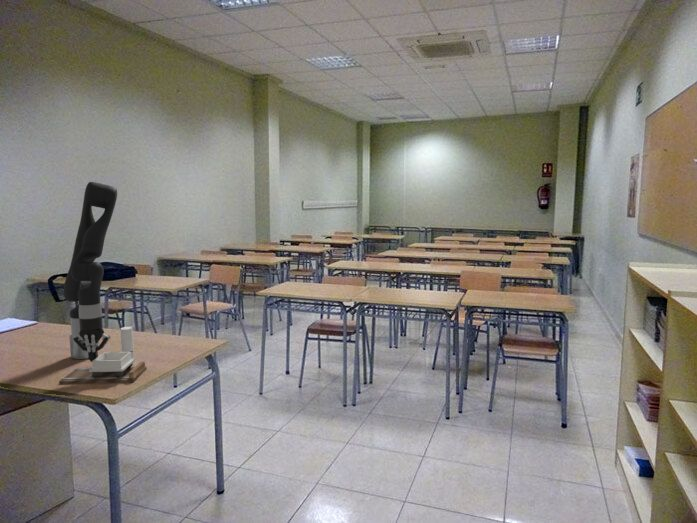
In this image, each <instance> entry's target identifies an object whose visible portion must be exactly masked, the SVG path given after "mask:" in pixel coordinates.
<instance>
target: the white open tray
mask: <svg viewBox="0 0 697 523" xmlns="http://www.w3.org/2000/svg"><path fill="white" fill-rule="evenodd" d="M135 361H136V358H134V359H132V357H131V352H122V351H110V352H109V351H108V352H107V351H104V352H102V353H101V354H99V355H98V357H97V358H95V359H94V360H93V361H92V362H91V366H92V367H90V368H91V369H89V372H93V373H92V376H93V377H94V378H97V377H99V376H100V372H115V371H116V372H115V376H116V377H121V376H122V374H123V372H122V371H124V370H125V369H126V368H130V367H133V366H134V365H133V362H134V363H135Z"/></svg>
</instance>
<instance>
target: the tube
mask: <svg viewBox="0 0 697 523" xmlns="http://www.w3.org/2000/svg"><path fill="white" fill-rule="evenodd" d="M133 330H134V329H133V326H124V327H123V326H122V327H121V328H120V338H121V339H120V342H121V343H120V344H121V352H131V357H132V359H135V355H134V354H135V353H134V352H135V351H134V334H133ZM134 365H135V361H134V362H133V365H132V366H134Z"/></svg>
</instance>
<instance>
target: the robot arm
mask: <svg viewBox="0 0 697 523" xmlns="http://www.w3.org/2000/svg"><path fill="white" fill-rule="evenodd" d="M117 199H118V189H117V187H115V186H111V185H108V184H103V183H99V182H97V181H89V182H87V185H86V187H85V190H84V195H83V200H82V201H83V202H82V207H81V208H82V209H81V215H80V216H81V217H80V222H79V225H78V230H77V233H76V238H75V242H74V248H73V253H72V258H71V261H70V265H69V270H68V271H67V275H66V277H65V281H64V284H63V297H64V298H65V300H66V301H68V302H70V303H72V302H74V303H75V302H78V305H76V306H75V307H73V308H72V309H71V310H70V311H69V317H70V318H69V320H70V330H71V334H70V335H69V350H70V358H71V359H76V360H85V359H88V361H89V362H90V363H92V361H93V360H94V359H95V358H97V357H98V356H99V352H98V351H101V350H102V349H104V347H105V345H107V343H108V341H109V340H110V339H111V335H107V334H106V333H105V331H104V328H103V327H104V324H103V311H102V304H101V288H102V287H101V286H102V283H103V277H104V275H105V274H104V273H105V269H104V266H103V265H102V263H101V262H99V261H96V259H99V258H100V257H101V256H102V255H103V249H104V245H105V239H106V235H107V231H108V229H109V226H110V223H111V220H112V217H113V213H114V210H115V207H116V203H117ZM92 207H96V208H100V209H104V211H103V212H102V215H101V216H100V217H99V218H98V219H97V220H96V221H95V218H94V214H93V208H92ZM100 340H102V341H101V342H100Z"/></svg>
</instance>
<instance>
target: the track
mask: <svg viewBox="0 0 697 523" xmlns="http://www.w3.org/2000/svg"><path fill="white" fill-rule="evenodd" d="M91 368H92V367H77V368H75V369H74V370H73V371H71V372H70V373H68V374H67V375H66V376H64V377H63V378H62V377H61V379H60V380H58V383H59V385H71V384H72V385H77V384H78V385H79V384H80V385H81V384H113V383H114V384H117V383H118V384H121V383H122V384H123V383H124V384H125V383H135V382H136V381H137V379H139V377H141V376H142V375H143V374H144V373H145V371H147V366H146V362H145V361H139V363H137V364H136V365H135V366H131V367H130V368H126V369H125V370H124V371H122V372H123V374H122V376H121V377H116V376H115V372H116V371H115V372H100V376H99V377H97V378H94V377H93V376H92V373H93V372H89V369H91Z"/></svg>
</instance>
